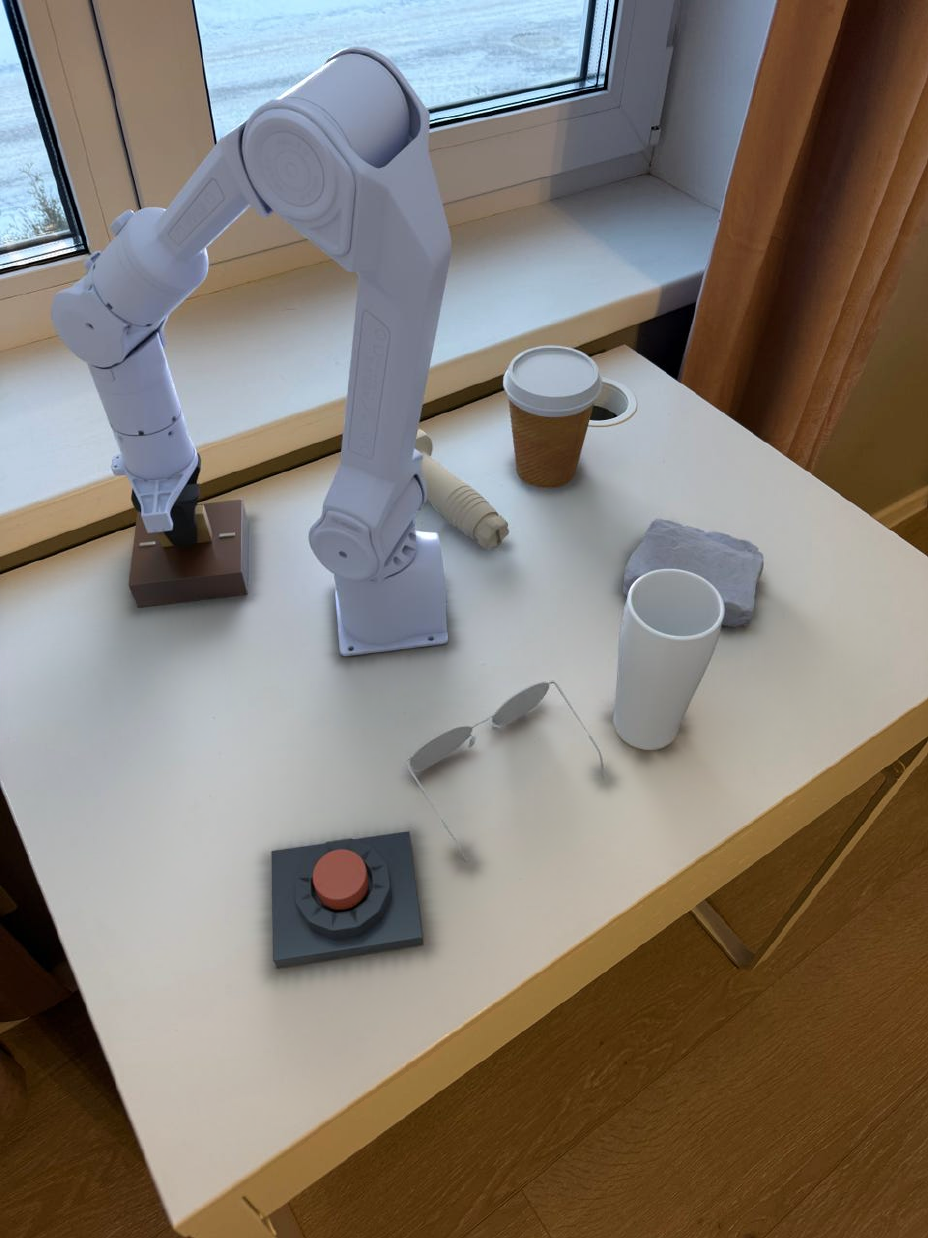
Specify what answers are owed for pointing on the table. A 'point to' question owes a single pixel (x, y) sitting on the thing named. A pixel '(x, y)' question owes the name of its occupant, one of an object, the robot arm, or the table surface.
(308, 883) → the block
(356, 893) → the bell button
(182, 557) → the plate
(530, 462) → the disposable coffee cup
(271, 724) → the table surface
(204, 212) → the robot arm
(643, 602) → the drinking glass
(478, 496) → the handle
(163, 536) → the thumbturn
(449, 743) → the sunglasses
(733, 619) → the stone block
